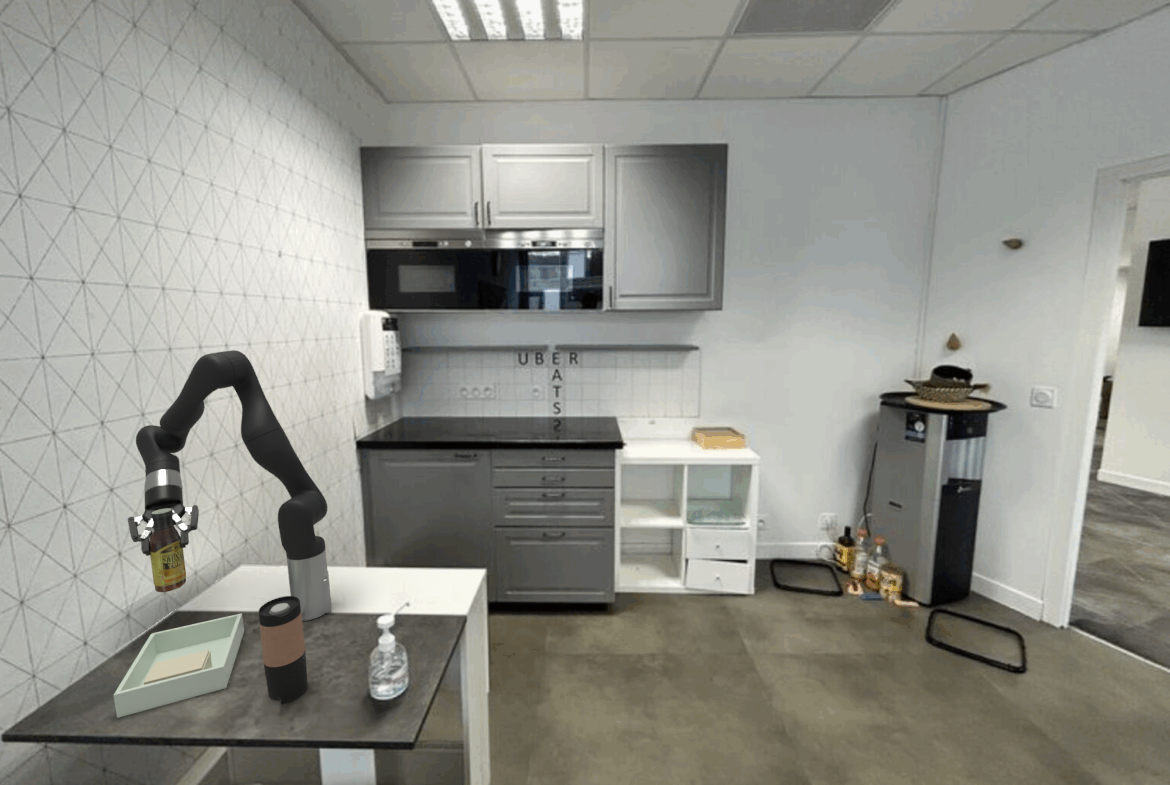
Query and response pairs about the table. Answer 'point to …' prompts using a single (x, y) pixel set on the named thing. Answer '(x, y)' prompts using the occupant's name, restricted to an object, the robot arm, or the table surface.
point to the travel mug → (283, 648)
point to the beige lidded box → (179, 666)
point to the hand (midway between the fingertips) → (165, 550)
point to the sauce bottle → (166, 552)
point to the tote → (179, 642)
